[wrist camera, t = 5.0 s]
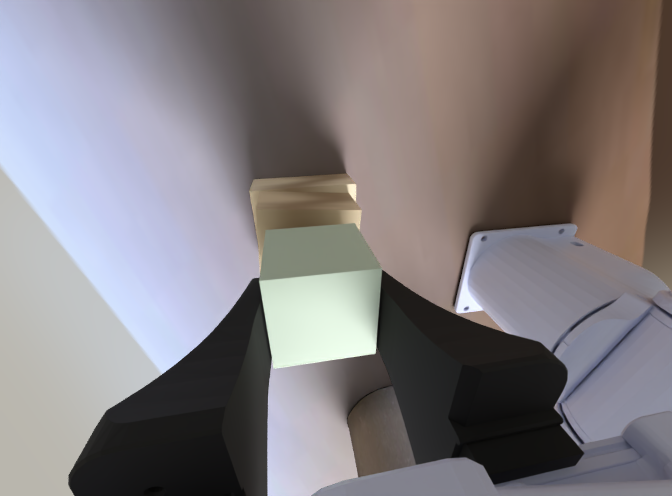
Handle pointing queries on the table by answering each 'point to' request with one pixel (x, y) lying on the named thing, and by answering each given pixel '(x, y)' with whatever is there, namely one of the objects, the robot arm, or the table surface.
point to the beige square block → (303, 211)
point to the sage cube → (319, 294)
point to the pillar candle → (379, 434)
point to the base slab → (302, 186)
